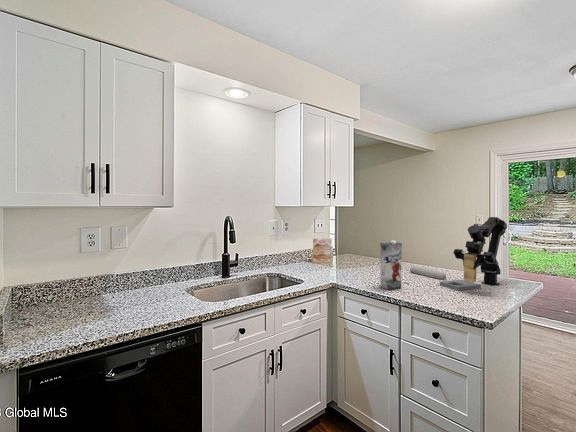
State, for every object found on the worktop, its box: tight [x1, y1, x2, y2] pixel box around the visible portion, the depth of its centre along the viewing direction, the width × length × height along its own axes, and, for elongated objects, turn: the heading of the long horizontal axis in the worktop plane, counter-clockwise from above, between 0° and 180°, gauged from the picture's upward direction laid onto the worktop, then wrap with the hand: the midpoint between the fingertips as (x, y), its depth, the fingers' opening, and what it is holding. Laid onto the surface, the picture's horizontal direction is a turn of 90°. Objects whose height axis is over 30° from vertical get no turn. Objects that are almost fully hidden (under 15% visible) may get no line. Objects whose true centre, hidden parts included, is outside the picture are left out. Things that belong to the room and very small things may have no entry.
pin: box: [463, 254, 477, 283], centre depth 162 cm, size 4×4×14 cm
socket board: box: [439, 279, 482, 292], centre depth 175 cm, size 16×13×2 cm
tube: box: [409, 265, 447, 281], centre depth 202 cm, size 5×5×25 cm
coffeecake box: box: [312, 237, 333, 264], centre depth 254 cm, size 15×7×20 cm, turn 81°
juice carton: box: [379, 240, 403, 291], centre depth 173 cm, size 9×10×27 cm
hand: (469, 268), depth 161 cm, fingers closed on pin, 4 cm apart
